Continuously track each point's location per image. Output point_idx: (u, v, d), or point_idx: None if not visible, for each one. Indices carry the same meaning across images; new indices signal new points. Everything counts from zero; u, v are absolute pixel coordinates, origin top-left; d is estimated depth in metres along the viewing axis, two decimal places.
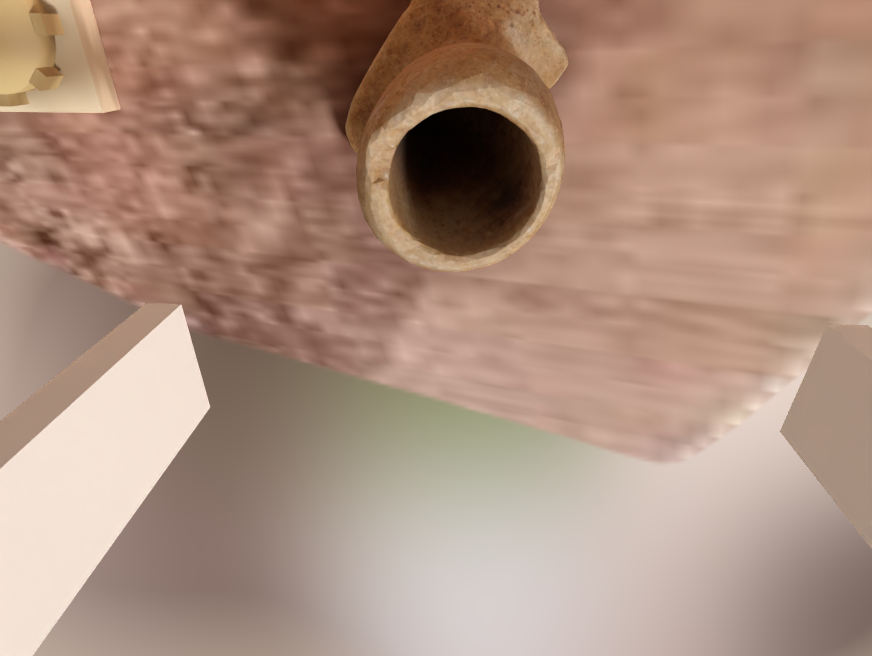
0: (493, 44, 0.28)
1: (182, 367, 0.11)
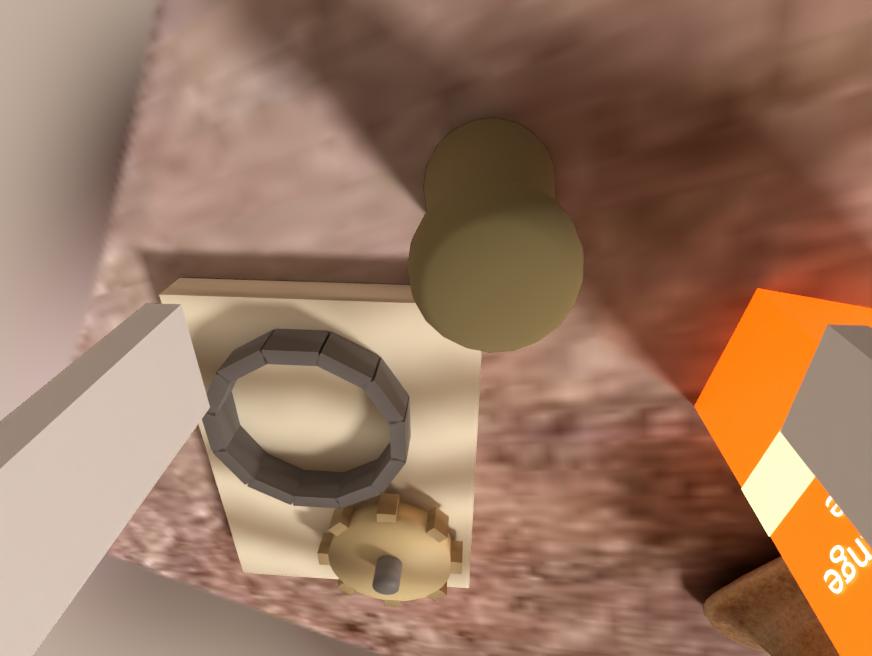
0: None
1: (182, 367, 0.11)
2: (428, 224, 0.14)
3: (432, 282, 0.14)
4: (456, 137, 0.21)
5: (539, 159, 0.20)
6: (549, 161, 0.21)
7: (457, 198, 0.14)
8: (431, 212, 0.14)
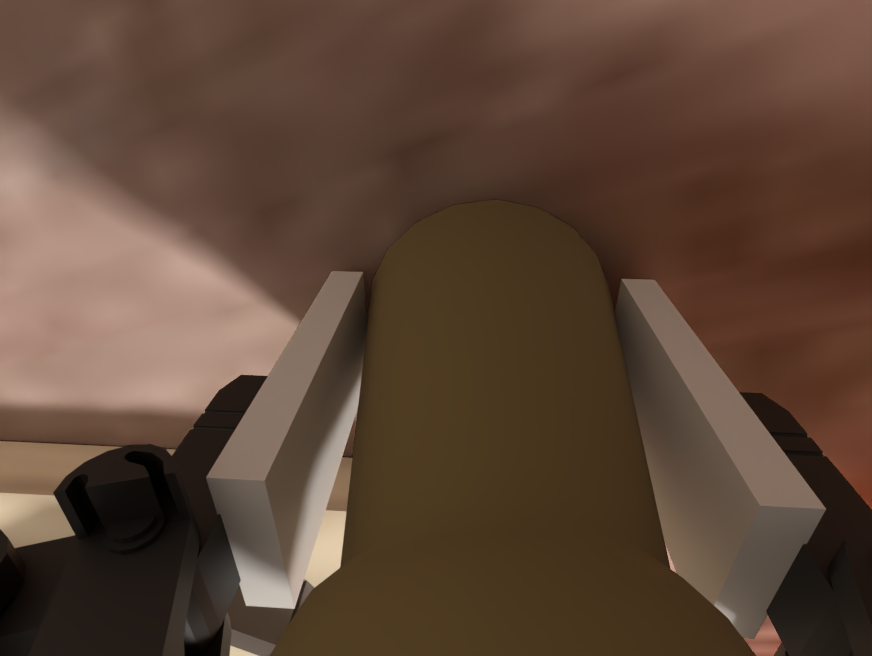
0: None
1: (362, 328, 0.12)
2: None
3: None
4: (422, 244, 0.11)
5: (595, 304, 0.09)
6: (605, 286, 0.11)
7: None
8: None
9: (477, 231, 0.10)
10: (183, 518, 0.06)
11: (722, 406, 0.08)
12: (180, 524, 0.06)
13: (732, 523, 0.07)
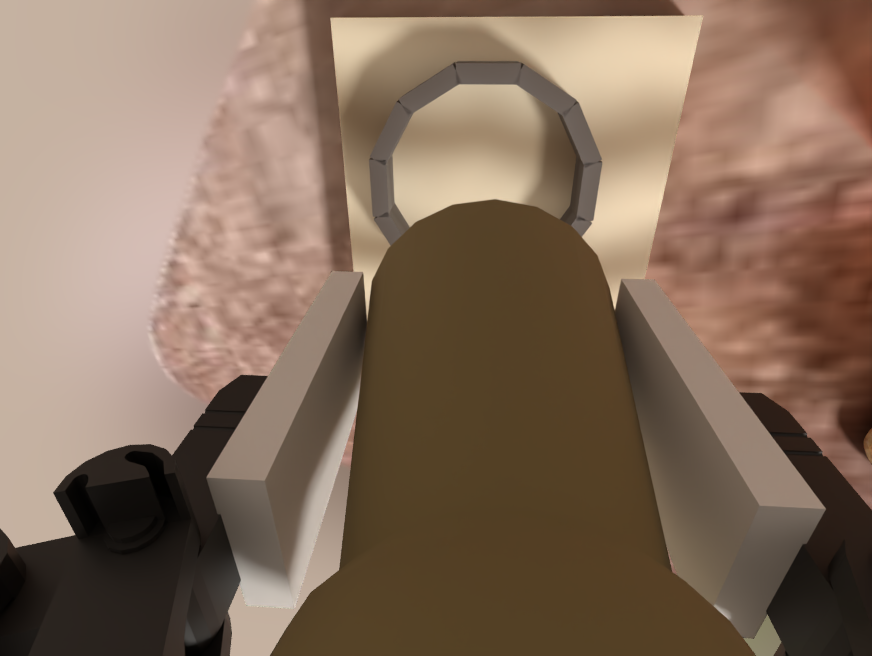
0: None
1: (362, 327, 0.12)
2: None
3: None
4: (422, 244, 0.10)
5: (595, 304, 0.09)
6: (605, 286, 0.11)
7: None
8: None
9: (477, 231, 0.10)
10: (183, 518, 0.06)
11: (722, 406, 0.08)
12: (180, 524, 0.06)
13: (732, 523, 0.07)
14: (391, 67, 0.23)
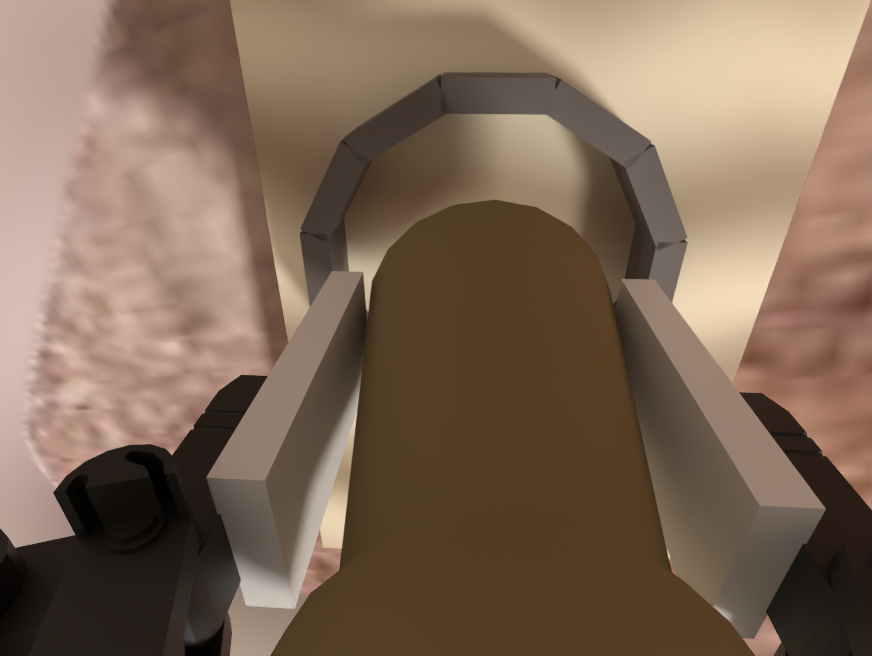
0: None
1: (362, 327, 0.12)
2: None
3: None
4: (422, 244, 0.10)
5: (595, 305, 0.09)
6: (605, 286, 0.11)
7: None
8: None
9: (477, 231, 0.10)
10: (183, 518, 0.06)
11: (722, 406, 0.08)
12: (180, 524, 0.06)
13: (732, 523, 0.07)
14: (336, 82, 0.14)
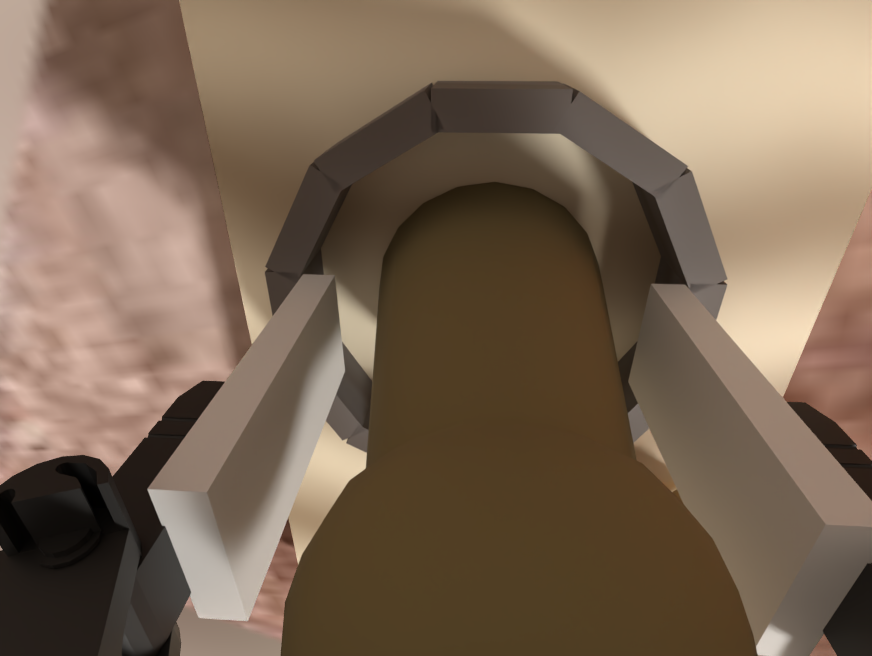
0: None
1: (334, 331, 0.12)
2: (315, 610, 0.05)
3: None
4: (430, 221, 0.12)
5: (583, 272, 0.10)
6: (594, 260, 0.12)
7: (400, 546, 0.04)
8: (331, 552, 0.05)
9: (479, 209, 0.11)
10: (121, 529, 0.06)
11: (772, 418, 0.07)
12: (117, 535, 0.06)
13: (791, 541, 0.06)
14: (308, 92, 0.12)
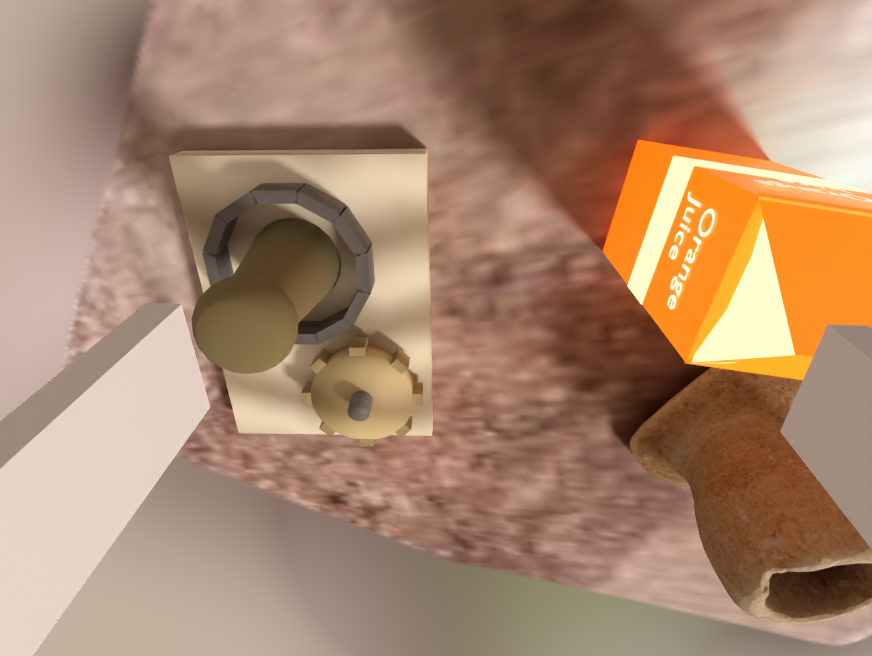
0: (784, 415, 0.36)
1: (182, 367, 0.11)
2: (197, 303, 0.25)
3: (199, 336, 0.25)
4: (262, 232, 0.32)
5: (309, 249, 0.31)
6: (326, 246, 0.33)
7: (211, 289, 0.25)
8: (201, 296, 0.25)
9: (278, 228, 0.32)
10: None
11: None
12: None
13: None
14: (216, 187, 0.32)
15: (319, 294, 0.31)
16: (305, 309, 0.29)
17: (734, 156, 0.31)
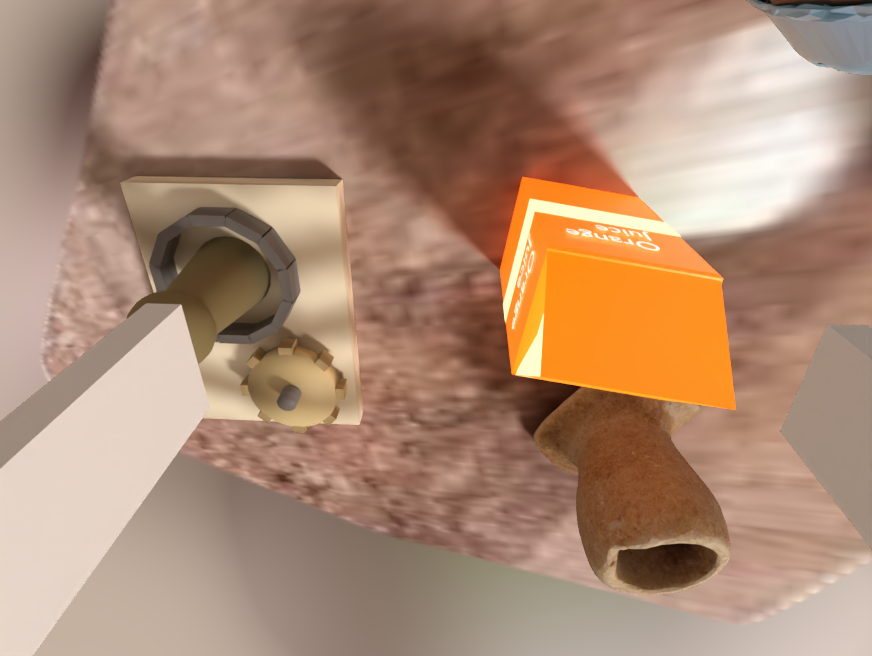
0: (657, 417, 0.42)
1: (182, 367, 0.11)
2: None
3: None
4: (200, 249, 0.38)
5: (236, 265, 0.36)
6: (255, 261, 0.38)
7: (140, 302, 0.30)
8: (133, 307, 0.31)
9: (212, 246, 0.37)
10: None
11: None
12: None
13: None
14: (161, 209, 0.38)
15: (245, 303, 0.37)
16: (228, 317, 0.35)
17: (603, 193, 0.36)
